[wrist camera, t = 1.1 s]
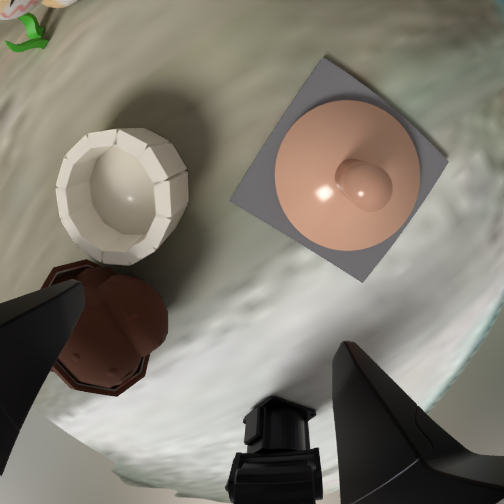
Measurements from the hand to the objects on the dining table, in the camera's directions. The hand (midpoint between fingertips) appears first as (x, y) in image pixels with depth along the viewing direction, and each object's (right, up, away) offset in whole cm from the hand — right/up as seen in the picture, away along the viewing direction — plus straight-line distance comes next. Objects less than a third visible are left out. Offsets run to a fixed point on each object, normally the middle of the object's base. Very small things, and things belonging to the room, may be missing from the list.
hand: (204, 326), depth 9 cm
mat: (+8, +8, +10) cm, 15 cm away
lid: (+8, +7, +10) cm, 15 cm away
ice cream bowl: (-18, -7, +14) cm, 24 cm away
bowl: (-8, +7, +11) cm, 15 cm away
